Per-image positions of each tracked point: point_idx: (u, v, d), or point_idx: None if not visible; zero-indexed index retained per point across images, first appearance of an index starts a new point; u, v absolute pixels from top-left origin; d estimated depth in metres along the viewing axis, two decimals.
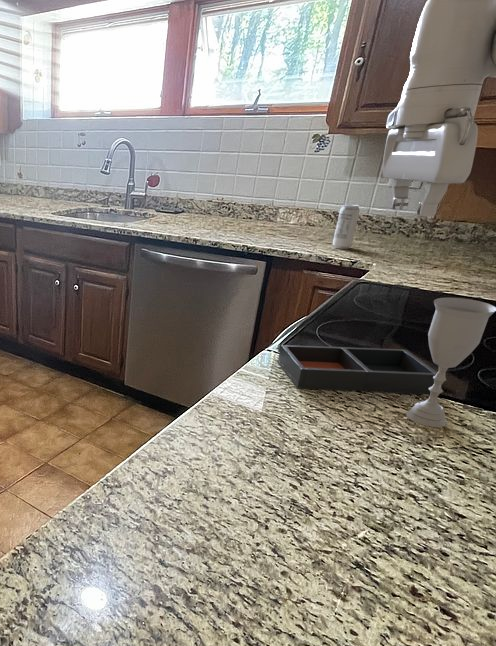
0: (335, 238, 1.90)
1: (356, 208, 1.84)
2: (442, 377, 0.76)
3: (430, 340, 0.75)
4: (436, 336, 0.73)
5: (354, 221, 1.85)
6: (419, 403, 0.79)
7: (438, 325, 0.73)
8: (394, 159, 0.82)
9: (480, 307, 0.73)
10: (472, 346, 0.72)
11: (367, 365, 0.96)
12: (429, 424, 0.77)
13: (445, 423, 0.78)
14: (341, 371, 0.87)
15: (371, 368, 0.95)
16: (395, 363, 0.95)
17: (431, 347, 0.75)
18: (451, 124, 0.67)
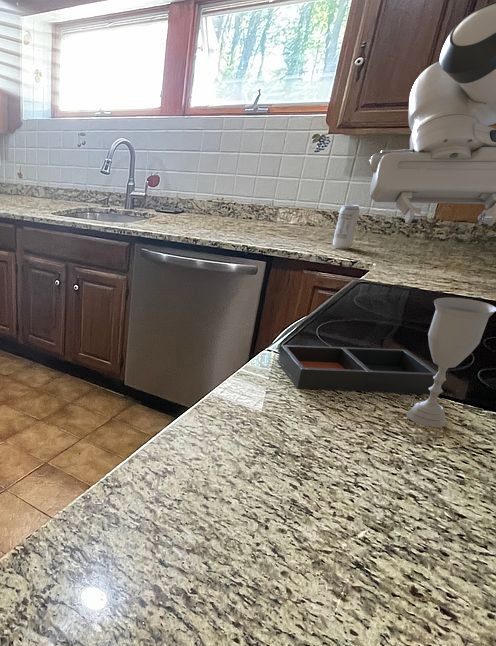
0: (335, 238, 1.90)
1: (356, 208, 1.84)
2: (442, 377, 0.76)
3: (430, 340, 0.75)
4: (436, 336, 0.73)
5: (354, 221, 1.85)
6: (419, 403, 0.79)
7: (438, 325, 0.73)
8: None
9: (480, 307, 0.73)
10: (472, 346, 0.72)
11: (367, 365, 0.96)
12: (429, 424, 0.77)
13: (445, 423, 0.78)
14: (341, 371, 0.87)
15: (371, 368, 0.95)
16: (395, 363, 0.95)
17: (431, 347, 0.75)
18: None
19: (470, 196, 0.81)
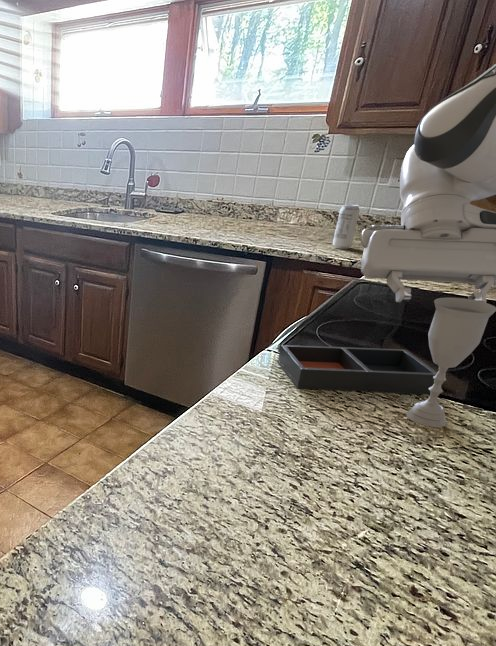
0: (335, 238, 1.90)
1: (356, 208, 1.84)
2: (442, 377, 0.76)
3: (430, 340, 0.75)
4: (436, 336, 0.73)
5: (354, 221, 1.85)
6: (419, 403, 0.79)
7: (438, 325, 0.73)
8: None
9: (480, 307, 0.73)
10: (472, 346, 0.72)
11: (367, 365, 0.96)
12: (429, 424, 0.77)
13: (445, 423, 0.78)
14: (341, 371, 0.87)
15: (371, 368, 0.95)
16: (395, 363, 0.95)
17: (431, 347, 0.75)
18: None
19: (460, 275, 0.81)
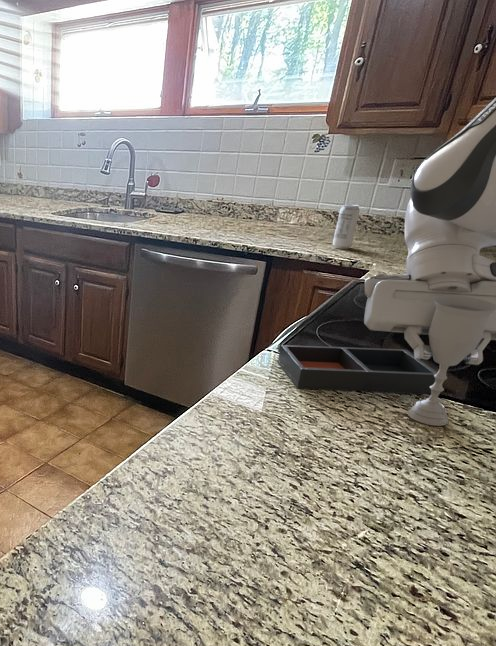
0: (335, 238, 1.90)
1: (356, 208, 1.84)
2: (443, 375, 0.76)
3: (431, 338, 0.75)
4: (436, 334, 0.73)
5: (354, 221, 1.85)
6: (420, 402, 0.79)
7: (438, 324, 0.73)
8: None
9: (480, 305, 0.73)
10: (473, 344, 0.71)
11: (367, 365, 0.96)
12: (430, 423, 0.77)
13: (446, 421, 0.77)
14: (341, 371, 0.87)
15: (371, 368, 0.95)
16: (395, 363, 0.95)
17: (432, 345, 0.75)
18: None
19: None
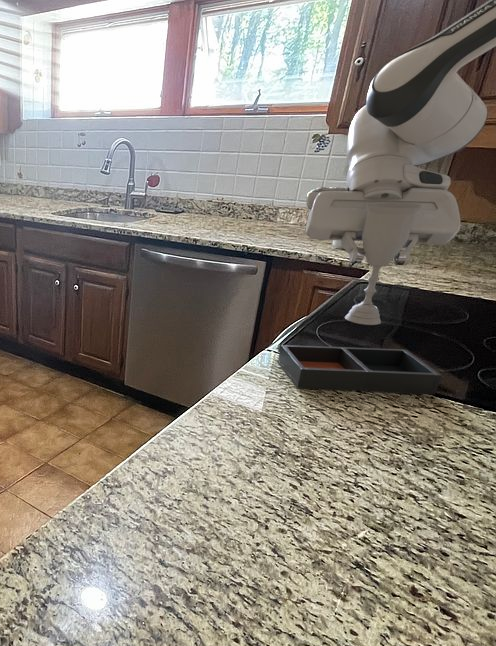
0: None
1: None
2: (375, 277, 0.81)
3: (363, 241, 0.80)
4: (367, 235, 0.79)
5: None
6: (356, 305, 0.84)
7: (369, 225, 0.78)
8: None
9: (408, 207, 0.78)
10: (399, 242, 0.77)
11: (367, 365, 0.96)
12: (364, 322, 0.83)
13: (379, 322, 0.83)
14: (341, 371, 0.87)
15: (371, 368, 0.95)
16: (395, 363, 0.95)
17: (364, 247, 0.80)
18: None
19: None
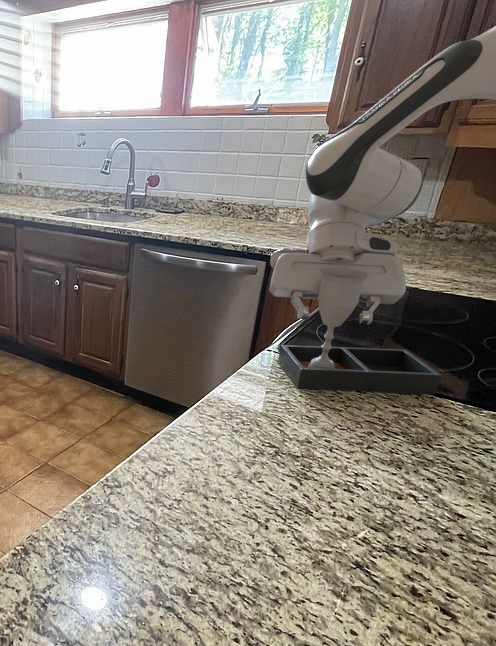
0: None
1: None
2: (330, 335, 0.90)
3: (318, 303, 0.89)
4: (321, 299, 0.87)
5: None
6: (314, 359, 0.93)
7: (323, 290, 0.87)
8: None
9: (358, 274, 0.87)
10: (349, 307, 0.85)
11: (367, 365, 0.96)
12: None
13: None
14: (341, 371, 0.87)
15: (371, 368, 0.95)
16: (395, 363, 0.95)
17: (319, 309, 0.89)
18: None
19: None
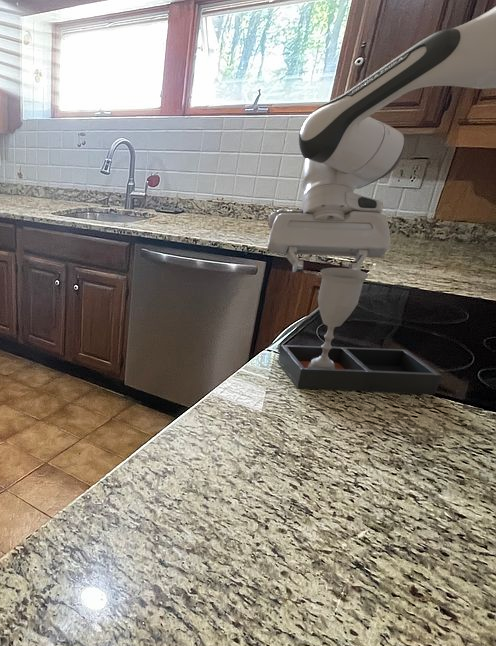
0: None
1: None
2: (330, 335, 0.90)
3: (318, 303, 0.89)
4: (321, 299, 0.87)
5: None
6: (314, 359, 0.93)
7: (323, 290, 0.87)
8: None
9: (358, 275, 0.87)
10: (350, 307, 0.85)
11: (367, 365, 0.96)
12: None
13: None
14: (341, 371, 0.87)
15: (371, 368, 0.95)
16: (395, 363, 0.95)
17: (319, 309, 0.89)
18: None
19: (344, 250, 0.99)
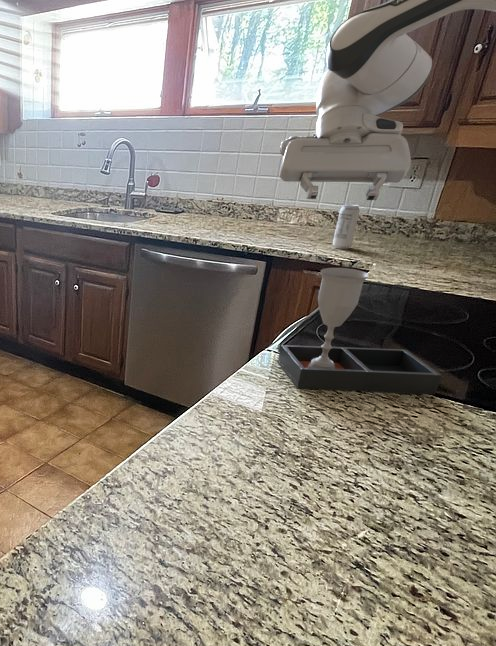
0: (335, 238, 1.90)
1: (356, 208, 1.84)
2: (330, 335, 0.90)
3: (318, 303, 0.89)
4: (321, 299, 0.87)
5: (354, 221, 1.85)
6: (314, 359, 0.93)
7: (323, 290, 0.87)
8: None
9: (358, 275, 0.87)
10: (350, 307, 0.85)
11: (367, 365, 0.96)
12: None
13: None
14: (341, 371, 0.87)
15: (371, 368, 0.95)
16: (395, 363, 0.95)
17: (319, 309, 0.89)
18: None
19: (360, 175, 0.94)
